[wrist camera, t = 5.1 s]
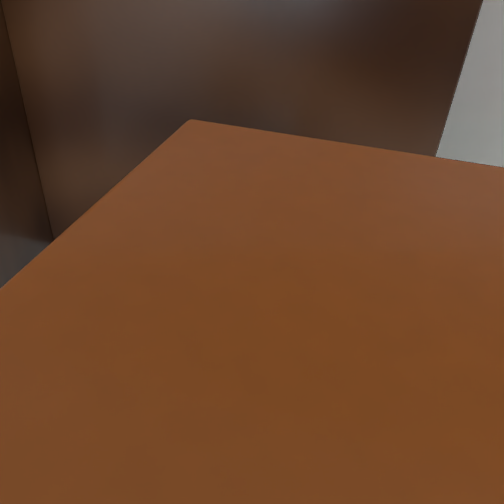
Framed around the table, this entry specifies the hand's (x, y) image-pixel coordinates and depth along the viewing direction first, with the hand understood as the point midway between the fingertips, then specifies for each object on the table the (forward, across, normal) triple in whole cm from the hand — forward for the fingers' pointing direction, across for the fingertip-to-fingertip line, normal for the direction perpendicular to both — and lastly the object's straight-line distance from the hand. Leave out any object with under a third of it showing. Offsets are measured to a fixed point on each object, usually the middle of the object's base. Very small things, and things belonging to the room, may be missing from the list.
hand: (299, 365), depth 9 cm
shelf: (+13, +5, 0) cm, 14 cm away
